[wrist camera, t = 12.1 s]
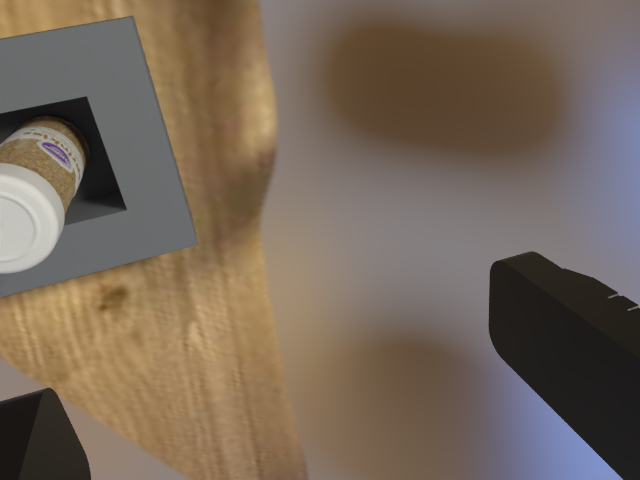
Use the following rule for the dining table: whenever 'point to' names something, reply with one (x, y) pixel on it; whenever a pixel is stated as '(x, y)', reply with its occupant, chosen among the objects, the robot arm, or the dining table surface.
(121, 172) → the well block
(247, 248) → the dining table surface
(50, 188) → the sprinkles bottle
